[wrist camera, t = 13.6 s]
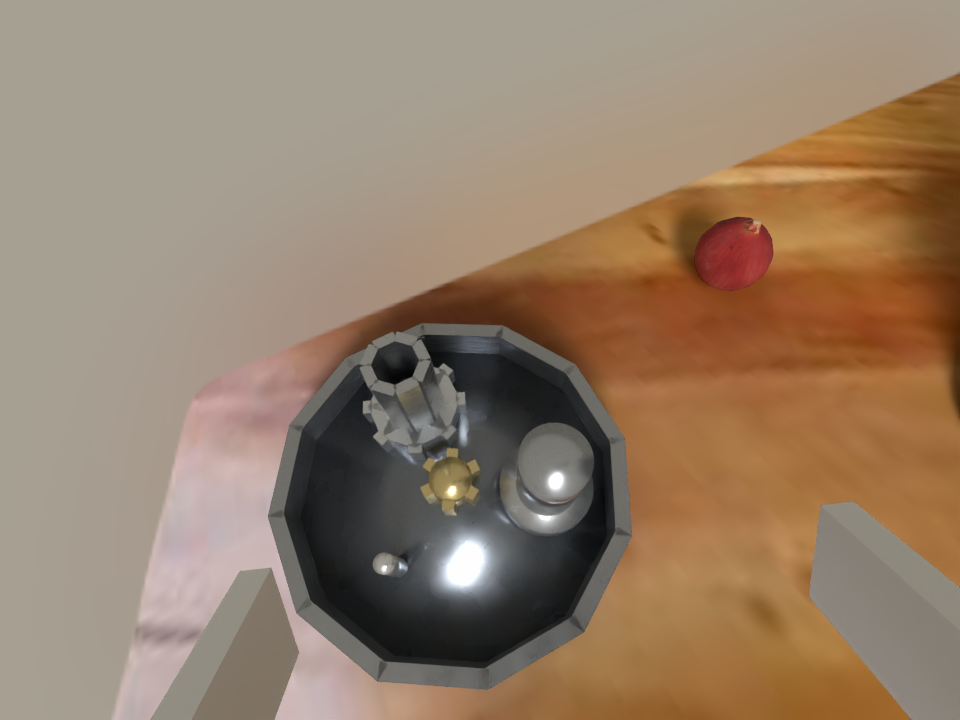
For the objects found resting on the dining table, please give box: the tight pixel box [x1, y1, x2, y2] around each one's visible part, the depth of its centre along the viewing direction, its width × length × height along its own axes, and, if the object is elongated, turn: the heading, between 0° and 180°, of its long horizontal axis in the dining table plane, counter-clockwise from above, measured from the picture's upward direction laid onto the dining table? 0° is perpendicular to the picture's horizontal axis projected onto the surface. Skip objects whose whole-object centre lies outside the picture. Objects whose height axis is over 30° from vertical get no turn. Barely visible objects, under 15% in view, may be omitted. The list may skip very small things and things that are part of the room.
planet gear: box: [360, 331, 467, 461], centre depth 34 cm, size 8×8×9 cm
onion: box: [694, 217, 773, 291], centre depth 41 cm, size 6×6×8 cm
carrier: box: [268, 323, 632, 690], centre depth 32 cm, size 24×24×10 cm
